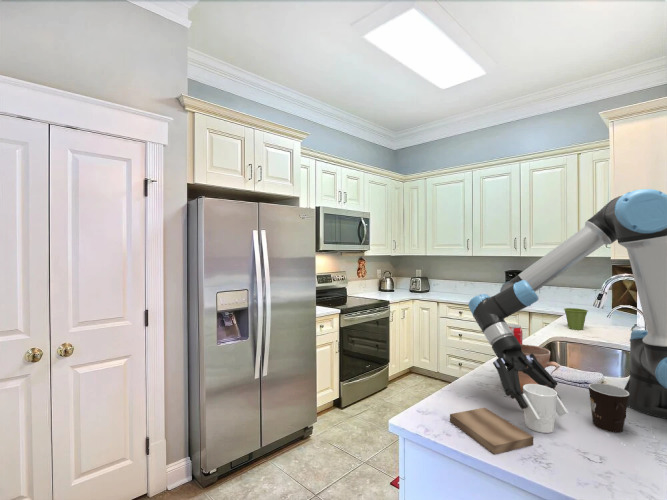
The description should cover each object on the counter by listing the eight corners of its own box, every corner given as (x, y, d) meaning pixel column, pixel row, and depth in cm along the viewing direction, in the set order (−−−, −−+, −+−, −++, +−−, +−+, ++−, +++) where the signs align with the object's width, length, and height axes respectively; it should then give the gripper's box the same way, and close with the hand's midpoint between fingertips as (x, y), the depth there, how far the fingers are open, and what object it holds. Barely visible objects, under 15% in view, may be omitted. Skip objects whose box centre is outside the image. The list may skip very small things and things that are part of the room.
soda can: (501, 350, 161) (501, 324, 161) (513, 348, 163) (513, 323, 163) (513, 354, 155) (513, 328, 154) (525, 353, 157) (526, 327, 156)
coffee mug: (588, 415, 100) (589, 380, 100) (628, 425, 94) (629, 388, 94) (585, 431, 91) (586, 393, 91) (629, 444, 85) (630, 403, 85)
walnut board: (484, 414, 100) (484, 407, 100) (533, 444, 85) (533, 436, 85) (449, 421, 96) (449, 414, 96) (494, 454, 81) (494, 445, 81)
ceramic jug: (562, 391, 116) (562, 349, 116) (553, 406, 105) (554, 359, 105) (504, 377, 128) (505, 338, 128) (491, 389, 118) (492, 347, 117)
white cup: (539, 436, 88) (540, 397, 88) (515, 421, 96) (516, 385, 96) (563, 432, 91) (564, 394, 90) (538, 417, 98) (539, 382, 98)
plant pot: (580, 326, 209) (580, 308, 209) (592, 331, 198) (592, 311, 198) (559, 326, 211) (559, 307, 211) (569, 330, 199) (570, 311, 199)
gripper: (522, 344, 111) (570, 416, 96) (466, 350, 104) (508, 430, 89) (537, 331, 106) (590, 405, 91) (479, 337, 99) (526, 419, 84)
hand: (549, 417), depth 90 cm, fingers open, 9 cm apart
